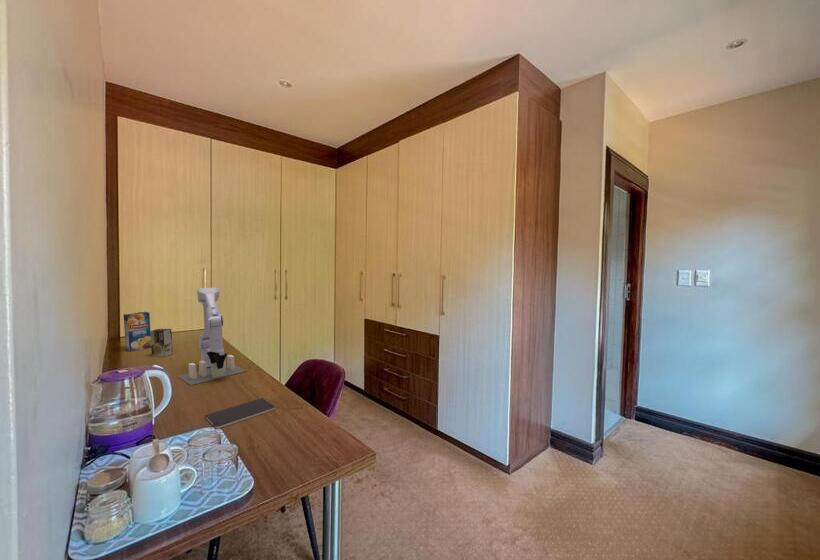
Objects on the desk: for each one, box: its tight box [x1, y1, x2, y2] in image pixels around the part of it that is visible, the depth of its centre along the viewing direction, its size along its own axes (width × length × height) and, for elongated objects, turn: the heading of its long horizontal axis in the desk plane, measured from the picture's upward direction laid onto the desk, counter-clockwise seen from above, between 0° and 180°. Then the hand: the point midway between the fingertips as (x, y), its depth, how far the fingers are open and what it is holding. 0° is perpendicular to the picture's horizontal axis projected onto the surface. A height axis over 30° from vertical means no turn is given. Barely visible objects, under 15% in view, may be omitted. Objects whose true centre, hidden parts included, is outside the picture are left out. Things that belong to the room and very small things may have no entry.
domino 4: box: [226, 354, 236, 370], centre depth 180 cm, size 2×5×7 cm, turn 49°
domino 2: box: [198, 360, 207, 377], centre depth 170 cm, size 2×5×7 cm, turn 49°
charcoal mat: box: [177, 363, 248, 387], centre depth 174 cm, size 20×26×1 cm
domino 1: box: [188, 362, 197, 379], centre depth 167 cm, size 2×5×7 cm, turn 49°
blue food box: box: [123, 311, 152, 353], centre depth 224 cm, size 12×8×24 cm, turn 145°
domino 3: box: [223, 359, 227, 372], centre depth 177 cm, size 2×5×7 cm, turn 49°
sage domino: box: [210, 363, 224, 378], centre depth 168 cm, size 2×5×7 cm, turn 139°
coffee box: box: [150, 328, 174, 358], centre depth 209 cm, size 9×6×16 cm
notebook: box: [204, 397, 276, 429], centre depth 128 cm, size 13×2×21 cm
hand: (217, 366), depth 168 cm, fingers open, 7 cm apart
